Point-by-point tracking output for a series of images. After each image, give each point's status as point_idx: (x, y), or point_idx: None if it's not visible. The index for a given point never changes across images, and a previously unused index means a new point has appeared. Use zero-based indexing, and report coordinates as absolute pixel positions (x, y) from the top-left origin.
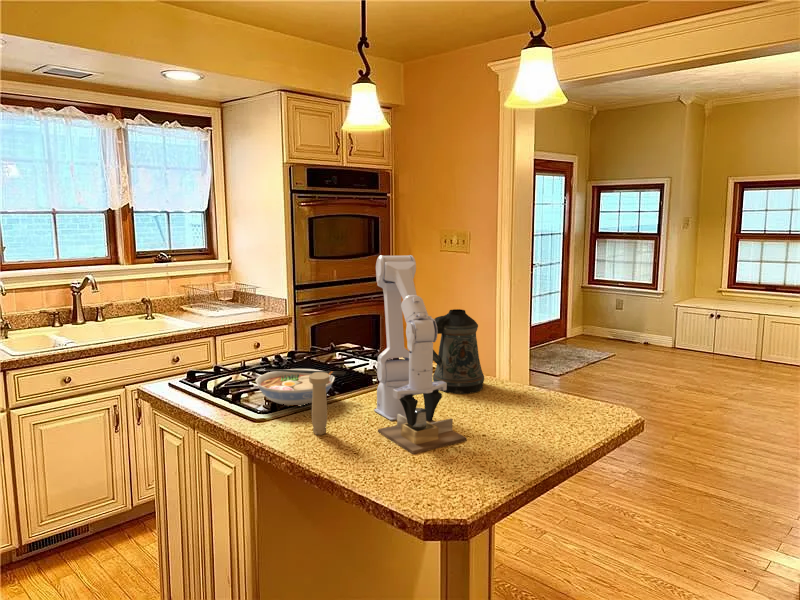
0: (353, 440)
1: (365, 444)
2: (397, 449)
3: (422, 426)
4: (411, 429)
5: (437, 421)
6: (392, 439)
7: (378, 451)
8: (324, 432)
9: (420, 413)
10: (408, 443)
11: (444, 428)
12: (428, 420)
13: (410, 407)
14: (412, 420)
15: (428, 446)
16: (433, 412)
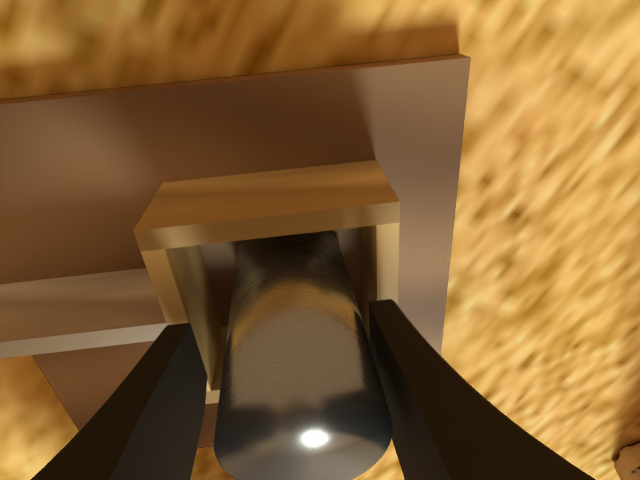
0: (591, 361)
1: (584, 305)
2: (490, 178)
3: (295, 271)
4: (390, 276)
5: (92, 346)
6: (443, 298)
7: (605, 197)
8: (634, 449)
9: (335, 376)
10: (409, 199)
11: (52, 294)
12: (193, 343)
13: (562, 459)
14: (413, 327)
15: (305, 83)
16: (126, 391)
